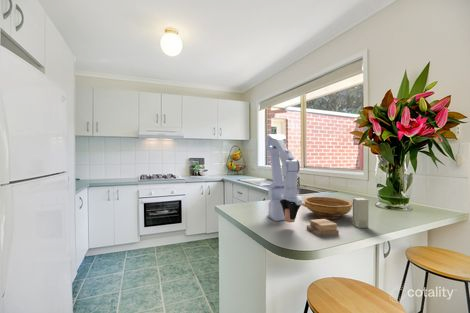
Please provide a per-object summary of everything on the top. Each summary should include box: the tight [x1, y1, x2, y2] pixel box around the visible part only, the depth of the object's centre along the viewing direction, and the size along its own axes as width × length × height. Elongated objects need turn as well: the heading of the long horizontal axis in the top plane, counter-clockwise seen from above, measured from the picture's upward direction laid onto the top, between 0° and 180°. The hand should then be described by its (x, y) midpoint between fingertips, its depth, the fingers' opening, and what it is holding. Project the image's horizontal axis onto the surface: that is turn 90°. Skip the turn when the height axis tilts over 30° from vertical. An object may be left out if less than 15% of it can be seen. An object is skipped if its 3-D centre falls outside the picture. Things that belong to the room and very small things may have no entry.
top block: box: [309, 218, 338, 232], centre depth 94 cm, size 8×8×2 cm
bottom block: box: [306, 224, 340, 238], centre depth 94 cm, size 9×9×2 cm
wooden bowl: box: [301, 196, 353, 220], centre depth 119 cm, size 30×24×8 cm
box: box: [352, 197, 370, 229], centre depth 102 cm, size 5×4×13 cm
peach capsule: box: [284, 208, 296, 223], centre depth 98 cm, size 4×4×5 cm
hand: (289, 217), depth 98 cm, fingers closed on peach capsule, 4 cm apart
